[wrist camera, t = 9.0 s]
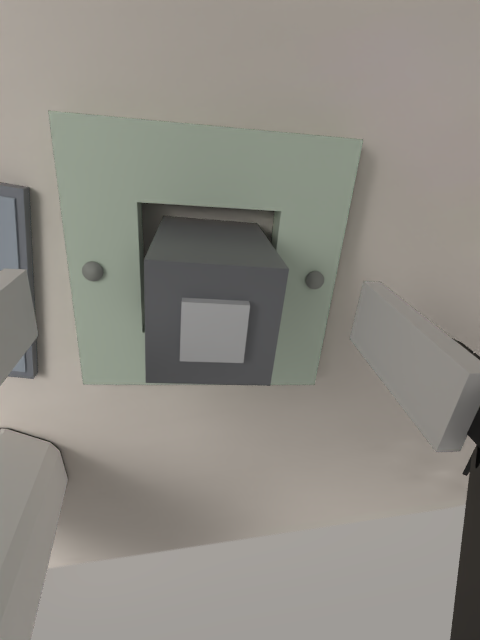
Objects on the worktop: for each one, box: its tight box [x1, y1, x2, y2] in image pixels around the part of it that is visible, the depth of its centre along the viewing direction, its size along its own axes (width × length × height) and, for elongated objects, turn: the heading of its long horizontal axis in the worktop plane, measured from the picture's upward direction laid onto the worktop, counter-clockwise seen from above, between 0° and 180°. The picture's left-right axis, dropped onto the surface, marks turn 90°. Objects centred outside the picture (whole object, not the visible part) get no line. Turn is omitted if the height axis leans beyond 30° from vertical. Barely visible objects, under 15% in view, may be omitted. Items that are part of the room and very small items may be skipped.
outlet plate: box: [48, 111, 363, 385], centre depth 20 cm, size 14×14×2 cm
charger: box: [144, 216, 289, 386], centre depth 17 cm, size 5×5×8 cm
